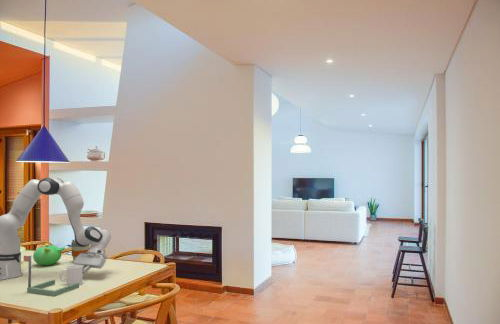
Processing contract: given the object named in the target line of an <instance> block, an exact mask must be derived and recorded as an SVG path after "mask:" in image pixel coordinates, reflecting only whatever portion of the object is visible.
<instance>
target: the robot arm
mask: <svg viewBox="0 0 500 324" xmlns="http://www.w3.org/2000/svg"><path fill="white" fill-rule="evenodd" d="M42 195H45V196H54V195H59V196H60V198H61V199H62V201H63V203H64V206H65V210H66V212H67V217H68V219H69V222H70V225H71V228H72V230H73V233H74V235H73V236H74V241H75V242H76V244H77V245H78V246H80V247H86V246H88V245H89V244H90V245H89V250H88V251H87V252H86V253H85V252H83V253H80V254H79V255H78V256H77V258H76V259H75V260H74V263H73V265H82V266H83V267H82V274H87V272H88V271H89V270H90V269H91V268H93V269H99V270H100V269H102V268H103V267H104V265H105V264H106V262H107V259H108V258H109V257H108V255H107V254H106V252H105V249H106V248H107V247H108V245H109V243H110V241H111V239H112V233H111V232H109V231H108V230H107V229H99V228H96V227H95V226H88V227H86V228H84V227H85V226H84V224H83V222H82V220H81V212H82V211H83V207H84V206H85V201H84V199H83V196H82V194H81V193H80V190H79V189H78V187H77V186H76V184H75V183H74V182H72V181H69V180H68V181H65V182H64V181H63V180H62V179H61V178H59V177H52V176H51V177H44V178H41V179H40V180H39V179H30V180H29V181H28V182H27V183H26V184H25V185H24V186H23V187H22V189H21V190H20V191H19V193H18V194H17V196H16V197H15V198H14V200H13V201H12V206H11V209H10V210H9V212H8V213H5V214H2V215H0V280H3V281H4V280H9V279H13V278H17V277H21V276H23V274H24V273H23V271H22V264H21V261H22V252H21V238H20V237H19V233H18V230H19V229H21V228H22V227H23V226H24V225H25V224H26V221H27V218H28V216H29V213H30V212H31V210H32V208H33V207H34V205H35V204H36V203H37V201H38V200H39V198H40V197H41V196H42Z"/></svg>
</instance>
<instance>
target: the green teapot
mask: <svg viewBox="0 0 500 324" xmlns="http://www.w3.org/2000/svg"><path fill="white" fill-rule="evenodd" d="M66 249H67V247H66V246H64V247H58V246H57V245H54V244H49V243H47V242H46V243H44V245H41V246H39V247H38V248H37V249H35V251H33V256H32V260H34V262H35V263H36V264H37V265H40V266H51V265H54V264H56V263H57V262H59V260H60V259H61V257H62V252H63V251H64V250H66Z"/></svg>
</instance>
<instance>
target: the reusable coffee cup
mask: <svg viewBox="0 0 500 324" xmlns="http://www.w3.org/2000/svg"><path fill="white" fill-rule="evenodd" d="M70 246H71V257H72V260H73V264H74V260H75V259H76V258H77V256H78V255H79V254H80V253H83V252H85V253H86V252H87V251H88V250H89V248H90V246H91V244H89V245H88V246H86V247H80V246H78V245H77V244H76V242H75V240H72V241H71V244H70Z"/></svg>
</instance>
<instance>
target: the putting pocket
mask: <svg viewBox="0 0 500 324" xmlns="http://www.w3.org/2000/svg"><path fill="white" fill-rule="evenodd" d="M23 262H25V263H26V262H27V263H28V274H27V275H28V277H27V278H28V279H27V281H28V282H27V287H26V292H27V293H29V294H35V295H42V296H47V297H49V296H50V297H57V296H59V295H62V294H64V293H65V294H66V293H68V292H70V291H73V290H76V289H78V288H79V287H80V284H79V283H75V284H72V285H65V286H64V287H61V288H58V289H55V290H53V289H47V288H49V287H51V286H54V285H56V279H51V280H48V281H44V282H41V283H38V284H35V285H31V284H32V255H23Z"/></svg>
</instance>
